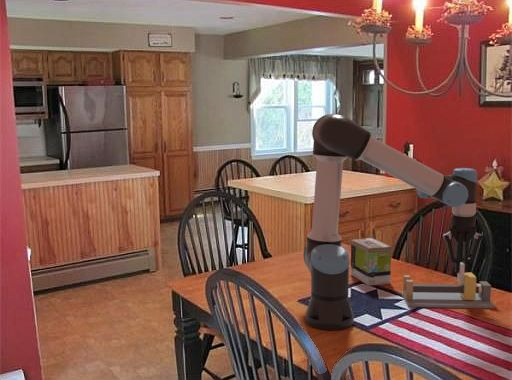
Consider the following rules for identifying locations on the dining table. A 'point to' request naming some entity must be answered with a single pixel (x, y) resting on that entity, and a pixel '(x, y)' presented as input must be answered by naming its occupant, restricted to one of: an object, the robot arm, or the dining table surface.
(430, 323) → the dining table surface
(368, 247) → the tea box
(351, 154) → the robot arm
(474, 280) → the sleeve
